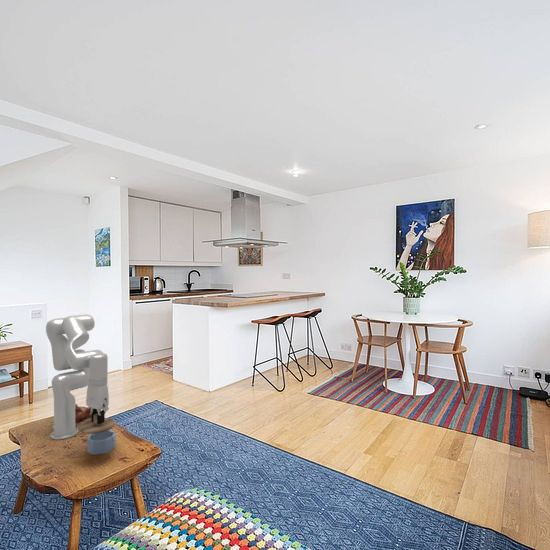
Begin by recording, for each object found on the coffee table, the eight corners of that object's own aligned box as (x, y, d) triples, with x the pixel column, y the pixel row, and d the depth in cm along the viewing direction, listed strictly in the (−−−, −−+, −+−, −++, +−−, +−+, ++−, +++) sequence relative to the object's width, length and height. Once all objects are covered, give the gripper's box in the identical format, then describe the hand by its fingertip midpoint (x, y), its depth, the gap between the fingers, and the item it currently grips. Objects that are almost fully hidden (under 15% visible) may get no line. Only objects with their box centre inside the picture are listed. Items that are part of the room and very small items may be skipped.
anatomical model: (97, 406, 202) (77, 390, 200) (80, 425, 191) (58, 408, 189) (91, 412, 208) (72, 396, 206) (74, 430, 198) (53, 414, 196)
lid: (73, 429, 153) (73, 417, 153) (101, 417, 165) (101, 406, 165) (93, 436, 147) (93, 423, 146) (121, 423, 159) (121, 411, 159)
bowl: (82, 450, 163) (82, 437, 163) (105, 440, 173) (105, 428, 173) (98, 456, 158) (98, 443, 158) (120, 445, 168) (120, 433, 168)
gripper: (79, 380, 157) (78, 421, 157) (101, 387, 148) (101, 429, 149) (94, 376, 163) (94, 415, 163) (117, 382, 155) (117, 423, 155)
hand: (97, 421), depth 156 cm, fingers closed on lid, 3 cm apart
